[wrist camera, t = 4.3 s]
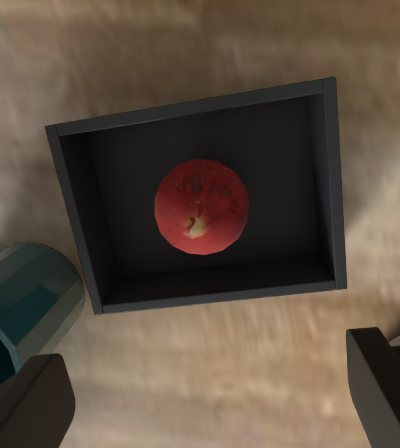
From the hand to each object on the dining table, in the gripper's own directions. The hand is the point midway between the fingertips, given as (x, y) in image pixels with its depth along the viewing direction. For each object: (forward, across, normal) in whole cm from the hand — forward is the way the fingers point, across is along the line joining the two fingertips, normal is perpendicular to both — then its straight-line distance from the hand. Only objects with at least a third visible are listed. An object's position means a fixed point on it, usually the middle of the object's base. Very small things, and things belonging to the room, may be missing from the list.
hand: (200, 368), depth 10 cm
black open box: (+18, +1, -1) cm, 18 cm away
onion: (+17, +1, -1) cm, 17 cm away
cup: (+18, +16, +5) cm, 24 cm away
